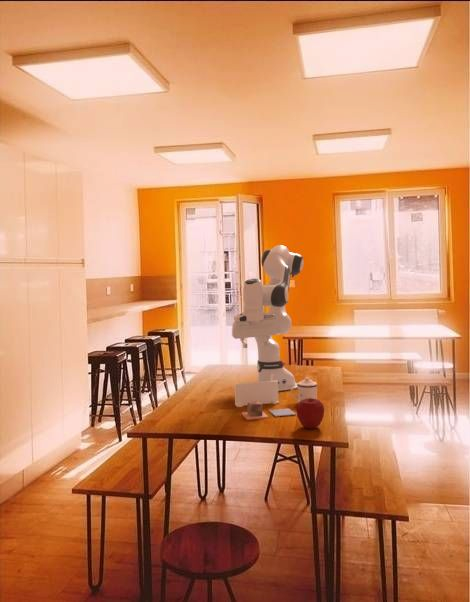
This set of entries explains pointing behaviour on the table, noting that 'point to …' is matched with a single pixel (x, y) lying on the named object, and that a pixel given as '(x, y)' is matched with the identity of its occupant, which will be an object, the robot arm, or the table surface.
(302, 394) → the teacup with lid
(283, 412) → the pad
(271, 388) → the screen
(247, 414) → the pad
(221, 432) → the table surface
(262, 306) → the robot arm
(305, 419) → the apple
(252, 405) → the cube with pink top
